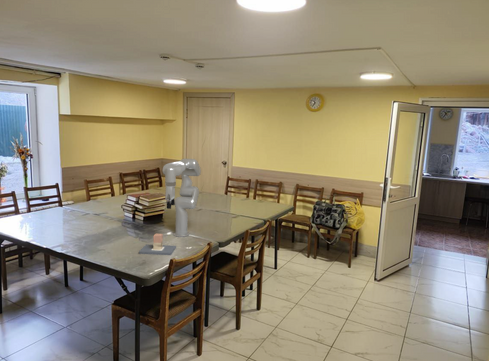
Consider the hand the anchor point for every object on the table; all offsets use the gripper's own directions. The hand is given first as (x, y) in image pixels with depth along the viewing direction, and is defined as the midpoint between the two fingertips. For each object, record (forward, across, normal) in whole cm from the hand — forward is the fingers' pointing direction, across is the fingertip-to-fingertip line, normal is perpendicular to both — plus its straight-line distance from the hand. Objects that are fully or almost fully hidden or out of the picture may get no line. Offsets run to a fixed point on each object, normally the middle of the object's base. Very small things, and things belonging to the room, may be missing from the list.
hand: (170, 206), depth 246 cm
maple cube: (+26, +15, -5) cm, 31 cm away
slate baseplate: (+28, +15, -5) cm, 32 cm away
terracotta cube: (+22, +15, -5) cm, 27 cm away
